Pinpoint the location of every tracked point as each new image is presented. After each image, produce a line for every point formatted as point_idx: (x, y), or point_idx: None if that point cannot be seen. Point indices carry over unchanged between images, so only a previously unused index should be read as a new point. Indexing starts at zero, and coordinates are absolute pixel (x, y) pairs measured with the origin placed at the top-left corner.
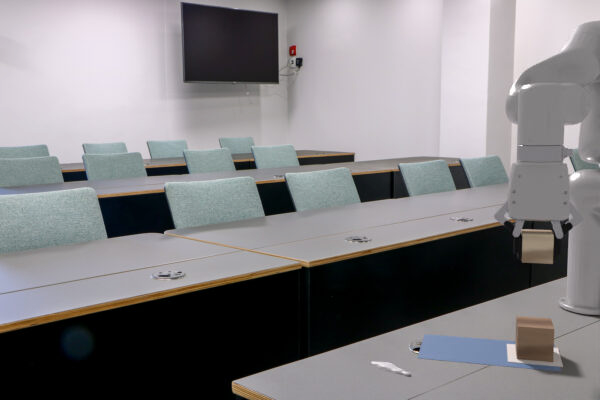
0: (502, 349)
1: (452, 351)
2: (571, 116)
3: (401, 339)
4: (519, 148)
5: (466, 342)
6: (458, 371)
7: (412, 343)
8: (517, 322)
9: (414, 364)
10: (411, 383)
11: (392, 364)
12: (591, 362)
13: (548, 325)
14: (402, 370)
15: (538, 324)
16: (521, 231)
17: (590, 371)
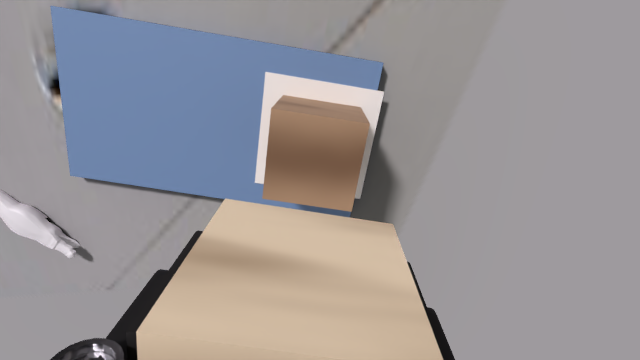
0: (251, 110)
1: (138, 132)
2: None
3: (2, 17)
4: None
5: (167, 66)
6: (162, 202)
7: (38, 47)
8: (266, 168)
9: (74, 176)
10: (87, 255)
11: (30, 223)
12: (437, 135)
13: (344, 186)
14: (57, 244)
15: (320, 179)
16: (148, 316)
17: (415, 182)
